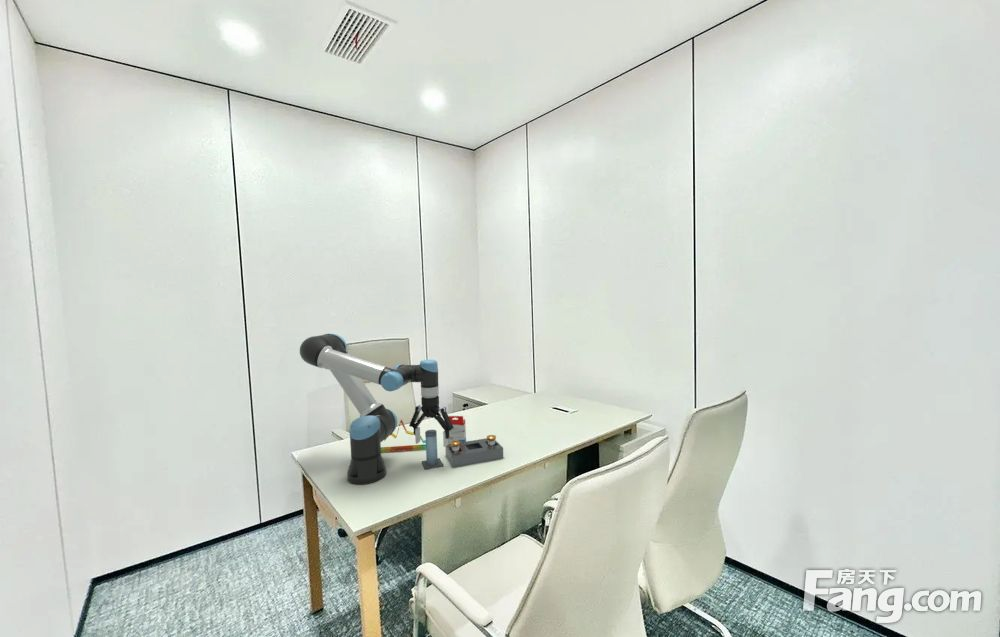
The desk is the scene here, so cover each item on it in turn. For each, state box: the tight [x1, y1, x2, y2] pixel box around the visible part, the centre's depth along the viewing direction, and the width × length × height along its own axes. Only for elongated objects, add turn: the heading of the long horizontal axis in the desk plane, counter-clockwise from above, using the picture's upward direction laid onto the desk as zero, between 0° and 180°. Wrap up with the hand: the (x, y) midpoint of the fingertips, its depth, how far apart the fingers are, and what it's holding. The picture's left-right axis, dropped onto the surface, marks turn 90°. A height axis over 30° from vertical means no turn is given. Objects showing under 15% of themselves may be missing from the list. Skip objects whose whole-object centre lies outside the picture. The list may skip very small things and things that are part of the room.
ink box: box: [448, 415, 467, 444], centre depth 193 cm, size 8×5×15 cm, turn 84°
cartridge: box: [424, 429, 439, 465], centre depth 170 cm, size 5×5×14 cm
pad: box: [421, 457, 444, 470], centre depth 170 cm, size 8×8×1 cm
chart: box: [381, 419, 426, 454], centre depth 186 cm, size 30×3×15 cm, turn 97°
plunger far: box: [486, 434, 497, 446], centre depth 180 cm, size 4×4×8 cm
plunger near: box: [451, 441, 460, 453], centre depth 174 cm, size 4×4×8 cm
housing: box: [444, 437, 504, 468], centre depth 177 cm, size 23×14×5 cm, turn 111°
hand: (431, 444), depth 170 cm, fingers open, 13 cm apart
